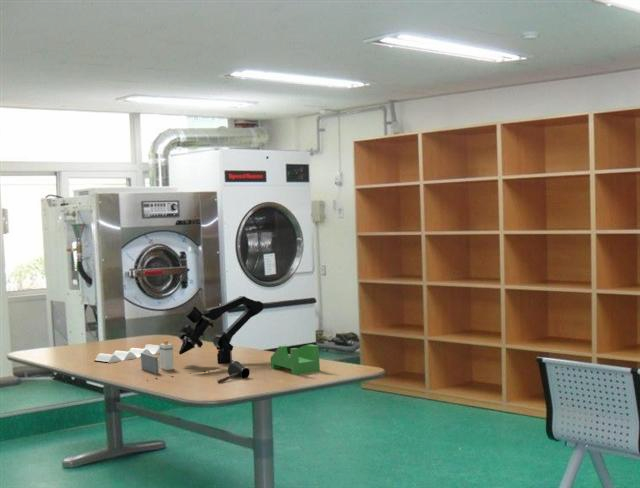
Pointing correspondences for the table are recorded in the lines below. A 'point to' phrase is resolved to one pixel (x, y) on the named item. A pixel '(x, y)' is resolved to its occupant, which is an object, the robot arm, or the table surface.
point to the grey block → (150, 363)
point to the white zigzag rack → (128, 354)
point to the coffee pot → (236, 371)
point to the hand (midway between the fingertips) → (179, 353)
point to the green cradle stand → (297, 359)
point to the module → (166, 356)
